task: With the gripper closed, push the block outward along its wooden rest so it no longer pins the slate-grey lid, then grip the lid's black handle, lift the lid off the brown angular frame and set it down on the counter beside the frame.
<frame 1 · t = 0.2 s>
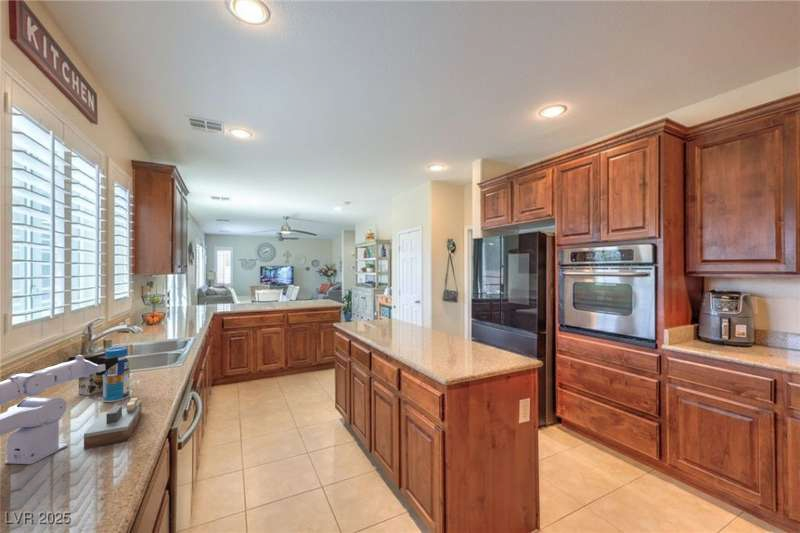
hand: (106, 359, 114), 21 cm above the countertop, tool horizontal, fingers open, 7 cm apart
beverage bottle: (116, 399, 133), on the countertop
coffee box: (96, 391, 141), on the countertop
block: (132, 404, 113), point 6 cm above the countertop, slide at 0.0 cm
brown angular frame: (114, 433, 106), on the countertop
lid: (114, 422, 106), point 3 cm above the countertop, touching brown angular frame
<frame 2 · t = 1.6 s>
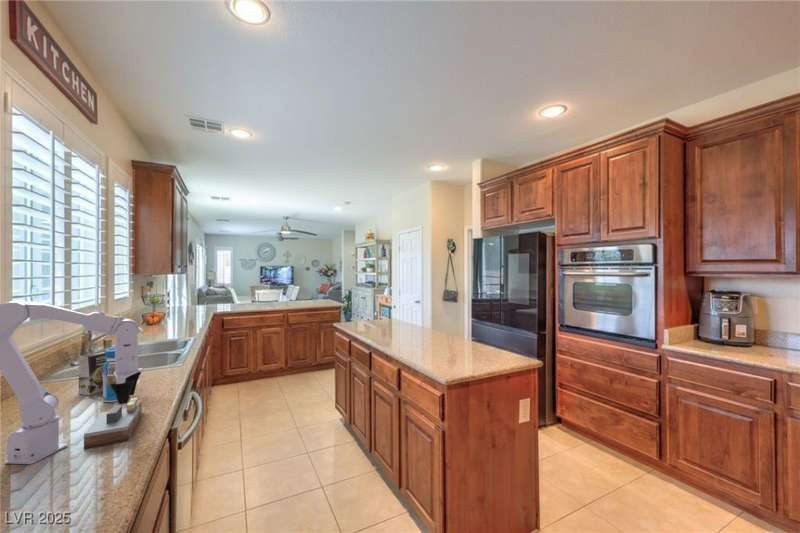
hand: (126, 399, 107), 10 cm above the countertop, tool pointing down, fingers open, 7 cm apart
nothing on the countertop moved.
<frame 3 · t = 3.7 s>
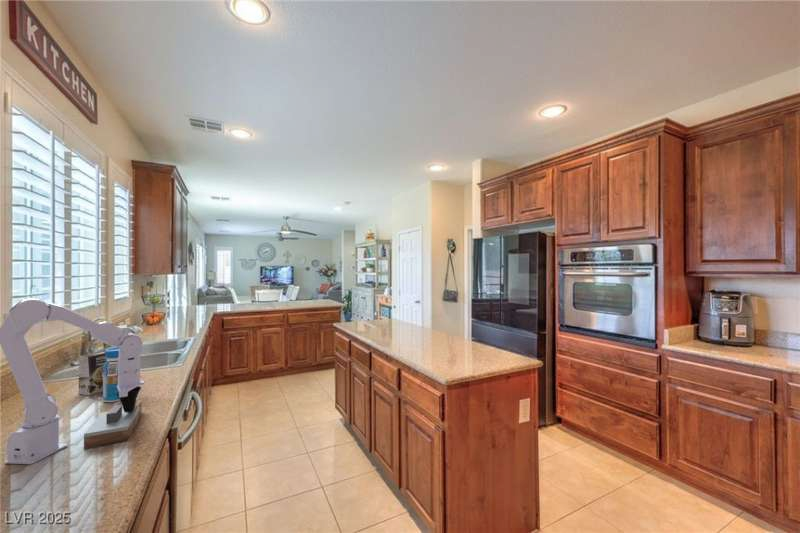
hand: (129, 411, 109), 5 cm above the countertop, tool pointing down, fingers closed
block: (132, 404, 113), point 6 cm above the countertop, slide at 0.1 cm, touching gripper
everything else where it was.
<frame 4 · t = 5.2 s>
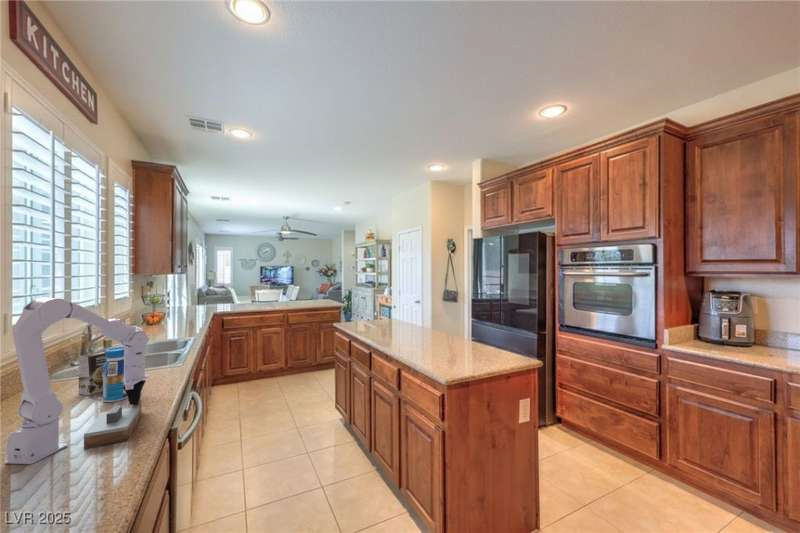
hand: (134, 403, 116), 5 cm above the countertop, tool pointing down, fingers closed
block: (137, 397, 119), point 6 cm above the countertop, slide at 7.1 cm, touching gripper
everything else where it was.
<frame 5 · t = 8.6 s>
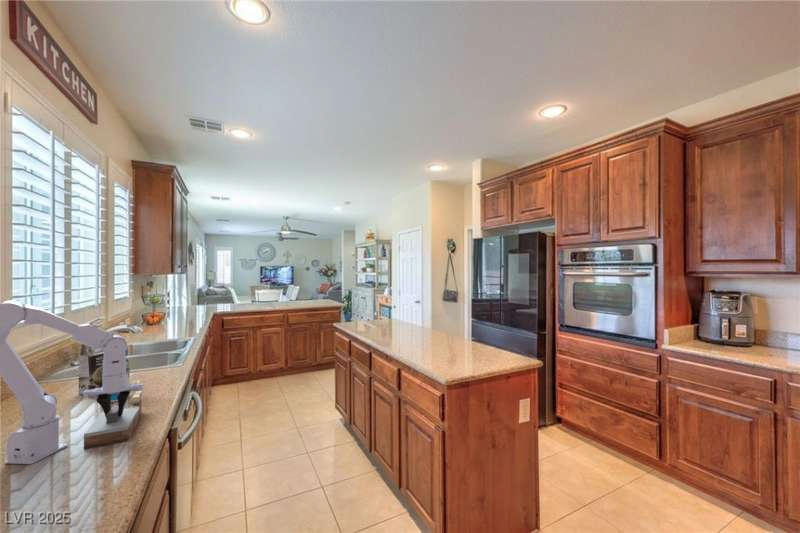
hand: (114, 416, 106), 5 cm above the countertop, tool pointing down, fingers closed on lid, 2 cm apart
block: (137, 397, 119), point 6 cm above the countertop, slide at 7.2 cm
lid: (114, 422, 106), point 3 cm above the countertop, touching gripper, brown angular frame
everything else where it was.
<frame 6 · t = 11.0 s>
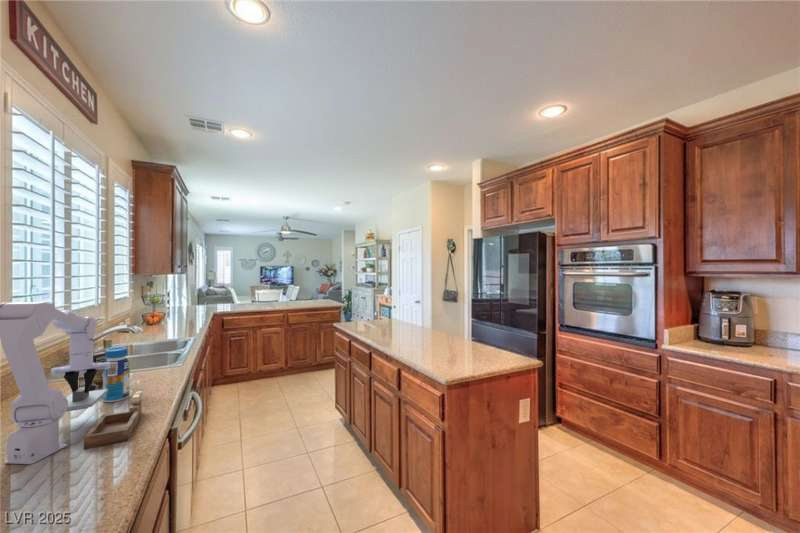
hand: (81, 392, 112), 10 cm above the countertop, tool pointing down, fingers closed on lid, 2 cm apart
lid: (80, 401, 112), point 8 cm above the countertop, touching gripper
everything else where it was.
when the fingers open (3 cm above the countertop, at t = 13.3 s): lid stays where it is, on the countertop.
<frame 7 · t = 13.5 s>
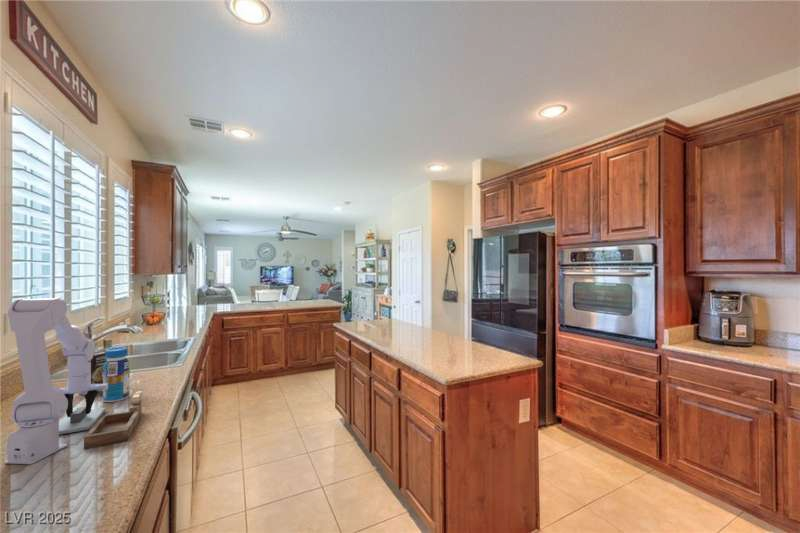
hand: (79, 414, 112), 3 cm above the countertop, tool pointing down, fingers open, 4 cm apart
lid: (78, 422, 112), on the countertop
everything else where it was.
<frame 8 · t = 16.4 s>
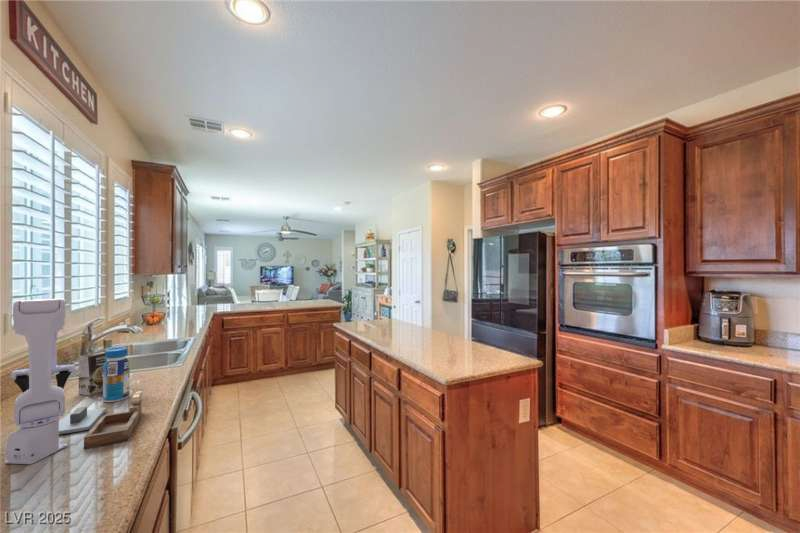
hand: (44, 395, 109), 10 cm above the countertop, tool pointing down, fingers open, 7 cm apart
nothing on the countertop moved.
at the end: block slide at 7.2 cm; lid inside the target area (0.2 cm from its centre), on the countertop; lid tilted 0° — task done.
